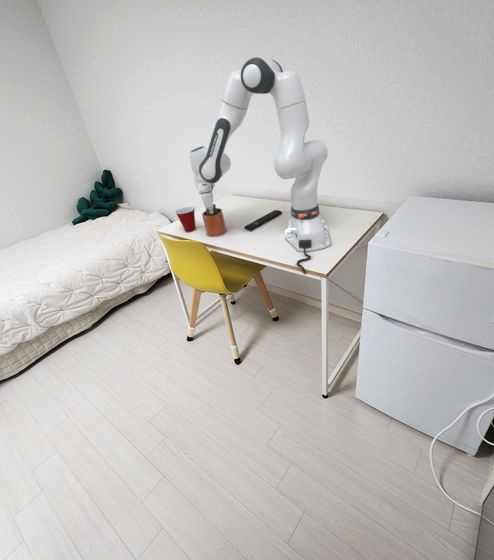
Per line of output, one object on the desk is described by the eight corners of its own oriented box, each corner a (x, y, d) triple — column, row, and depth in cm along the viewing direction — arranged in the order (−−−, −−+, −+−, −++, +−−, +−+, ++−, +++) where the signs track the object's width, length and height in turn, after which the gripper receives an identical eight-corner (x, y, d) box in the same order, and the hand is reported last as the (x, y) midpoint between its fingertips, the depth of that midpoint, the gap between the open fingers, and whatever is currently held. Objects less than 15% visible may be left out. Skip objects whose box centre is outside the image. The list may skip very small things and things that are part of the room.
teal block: (217, 214, 153) (215, 207, 151) (207, 216, 153) (205, 208, 151) (217, 211, 157) (215, 203, 155) (207, 213, 157) (205, 205, 155)
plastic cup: (203, 225, 172) (197, 204, 165) (195, 233, 163) (189, 212, 157) (185, 225, 175) (179, 205, 169) (177, 234, 167) (171, 213, 160)
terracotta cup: (226, 234, 157) (222, 213, 151) (207, 238, 157) (201, 217, 151) (226, 226, 165) (221, 206, 159) (207, 230, 165) (202, 210, 159)
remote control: (244, 229, 158) (244, 226, 157) (275, 211, 170) (275, 209, 169) (251, 231, 154) (251, 228, 154) (282, 213, 167) (282, 211, 166)
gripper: (199, 179, 156) (205, 205, 163) (198, 191, 139) (205, 219, 146) (211, 176, 156) (217, 202, 163) (211, 188, 139) (218, 217, 146)
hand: (211, 211), depth 155 cm, fingers closed on teal block, 5 cm apart
